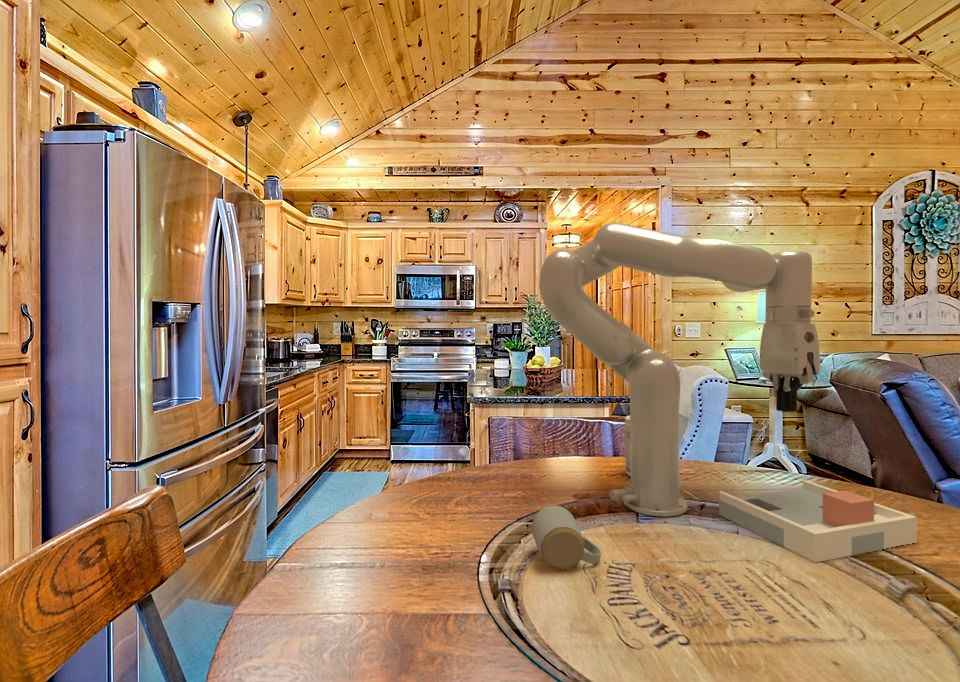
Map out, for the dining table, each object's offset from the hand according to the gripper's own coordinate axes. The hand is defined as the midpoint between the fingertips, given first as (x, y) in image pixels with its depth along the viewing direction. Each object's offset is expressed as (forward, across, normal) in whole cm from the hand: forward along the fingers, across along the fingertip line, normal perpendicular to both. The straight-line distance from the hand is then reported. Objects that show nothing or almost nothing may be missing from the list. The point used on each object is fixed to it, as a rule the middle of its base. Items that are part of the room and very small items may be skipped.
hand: (786, 410), depth 96 cm
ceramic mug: (+21, -6, +48) cm, 53 cm away
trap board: (+20, -6, +1) cm, 21 cm away
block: (+17, -13, 0) cm, 22 cm away
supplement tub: (+21, +30, +12) cm, 38 cm away
